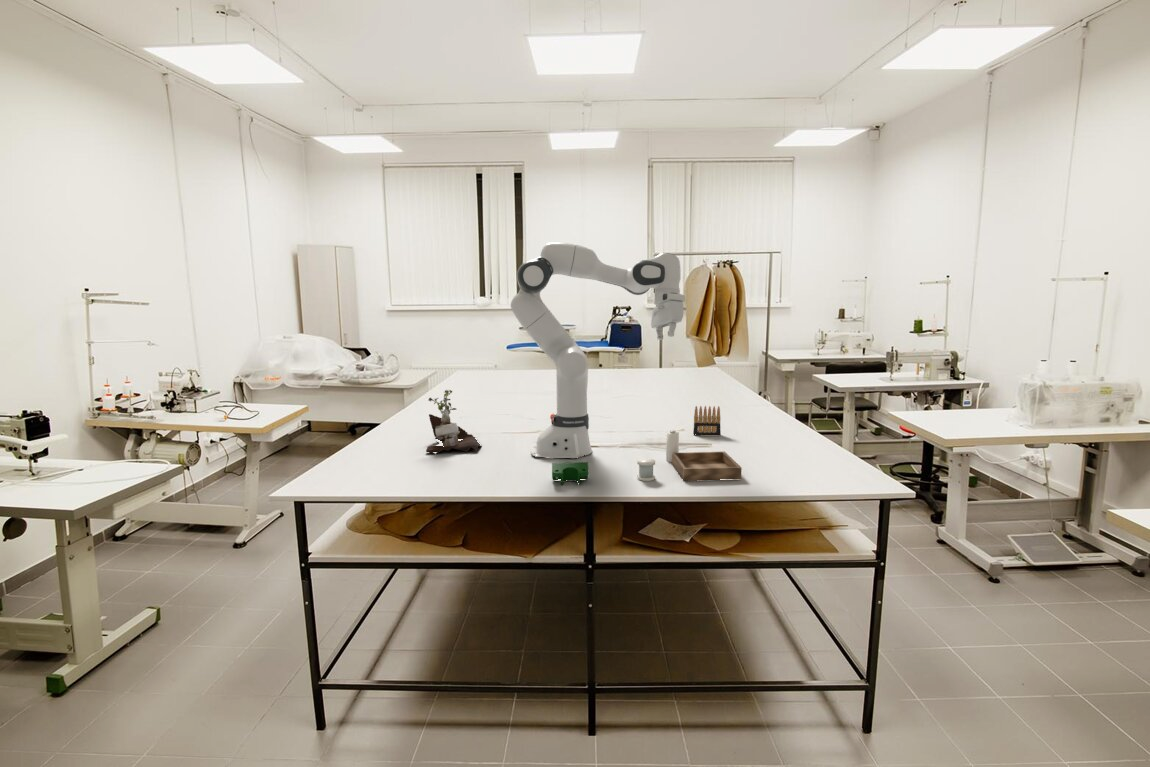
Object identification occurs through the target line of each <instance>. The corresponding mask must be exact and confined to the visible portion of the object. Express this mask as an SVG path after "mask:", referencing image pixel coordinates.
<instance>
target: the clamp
mask: <svg viewBox="0 0 1150 767" xmlns="http://www.w3.org/2000/svg"><path fill="white" fill-rule="evenodd" d="M588 478H589V463H588V462H587V461H585V462H583V461H579V462H552V463H551V479H552V481H553V480H558V479H561V481H560V483H561V484H563V485H564V482H563V481H565V482H567V481H566V480H576V481H578V483H580V479H587V480H588ZM576 481H575V482H576ZM578 483H577V484H578ZM561 484H560V485H561Z"/></svg>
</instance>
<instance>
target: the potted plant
mask: <svg viewBox="0 0 1150 767" xmlns="http://www.w3.org/2000/svg"><path fill="white" fill-rule="evenodd" d="M452 393H453V390H450V389H445V390H444V395H443V400H440V401H439V402H438V401H437V400H438V399H439V397H437V398H432V397H429V398H428V400H427V401H429V402H434V403H433V405H435V404H437V409H438V410H439V411H440V414H441V417H439V416H436V415H434V414H431V413H430V414H428V417H429V421H430V425H431V428H432V432H433V435H434V440H435V439H438V440H440V441H442V443H443V446H444V447H443V446H432V445H429V446H427V447H426V450H425V453H426V452H438V453H440V452H442V451H447V452H449V451H450V450H451V449H455V450H459V451H463V452H468V451H469V450H470V449H471V448H472V449H473V450H475V451H476V452H479V447H480V444H481V443H480V442H479V443H480V444H479V443H478V442H477V440H478V439H477V440H476V439H475V438H476V437H475V436H474V435H473V434H469V433H468V432H467V431H466V430H465V429H463V428H462V427H460V426H459V425H458V423H457V422H451V416H450V414H451V411H454V410H457V408H455V407H453V408H452V403H451V402H450V401H451V398H448V397H449V395H451V394H452ZM448 401H449V402H448ZM443 408H445V409H443ZM458 439H463V440H461V441H458Z"/></svg>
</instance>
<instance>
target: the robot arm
mask: <svg viewBox="0 0 1150 767" xmlns="http://www.w3.org/2000/svg"><path fill="white" fill-rule="evenodd" d="M554 275H562V276H567V277H572V278H578V279H587V280H592V281H598V282H601V283H602V282H603V283H606V284H609V285H614V286H617V287H621V288H622V289H624V290H626V291H627V292H629V293H630V294H632V295H635V296H641V295H644V294H646V293H647V292H648V291H649V290H650V289H651V288H652V289H654V305H655V307H654V308H653V309H652V312H651V313H652V314H651V320H650V323H651V324H650V326H651V328H652V329H655V332H656V339H657V340H658V341H662V340H664V333H663V331H664V328H667V327H668V331H667V337H668V338H669V337H670V338H671V337H672V338H673V337H675V331H676V328H677V323H681V322H682V321H683V316H684V311H685V310H684V309H685V308H684V307H685V306H684V302H685V301H686V295H684V294H682V293H681V288H680V282H681V262H680V259H679V257H678V256H677V255H676V254H673V253H669V252H661V253H659V254H658V255H656V256H654V257H652V258H648V259H642V260H639V261H637V262H636V263H635V264H634V265H633V266H632V268H628V269H627V268H626V269H625V268H620V267H616V266H613V265H612V266H611V265H609V264H605V263H604V262H602V261H601V260H600V258H599V257H598V256H597V254H596V252H595V251H594V250H592V249H590V248H588V247H586V246H582V245H578V244H574V243H568V242H555V241H554V242H551V241H550V242H548V243H545V245H544V246H543V247H542V249H541V251H540V255H539V256H538V257H536V258H533V259H530V260H526V261H525V262H523V263H522V264H520V266H519V268H518V269H517V272H516V282H517V285H518V293H517V294H515V295H514V296H513V298H512V299H511V302H510V308H511V311H512V313H513V314H514V316H515V318H516V319H517V320H518V323H519V324H520V326H522V328H523V329H524V330H525V331H526V333H527V334H528V335H529V336H530V337H531V339H532V340H533V341H534V342H535V344H536V345H537V346H538V347H539V348H540V349H541V351H542V352H543V353H544V354H545V355H546V356H547V357H548V359H550V361H551V362H552V363H553V365H554V366H555V367H556V414H555V413H551V414H550V415H549V416H550V417H549V418H550V420H551V425H549V426H548V427H547V428H546V429H545V430H543V431H542V432H540V434H539V435H538V436H537V441H536V444H535V445H534V446H532V448H531V449H530V455H531V454H532V455H533V456H535V457H553V458H577V457H579V456H581V457H585V456H588V455H590V454H592V452H593V450H592V445H591V442H590V435H589V427H590V418H589V417H590V416H589V413H588V382H589V381H588V378H589V360H588V357H587V355H586V354H585V353H584V351H583V349H582V348H581V347H580V346H579V345H578V344H577V342H576V341H575V340H574V339H573V337H572V336H571V335H570V334H569V332H568V331H567V330H566V328H564V326H563V325H562V324H561V322H560V321H559V320H558V319H557V318H556V316H555V315H554V314H553V313H552V312H551V310H550V309H549V308H548V306H547V305H546V304H545V302H543V299H542V298H541V292H542V291H543V290H544V289H545V288H546V287H547V285H548V283H549V281H550V280H551V277H552V276H554ZM584 455H585V456H584ZM553 458H552V459H553ZM579 458H580V457H579ZM577 459H578V458H577Z"/></svg>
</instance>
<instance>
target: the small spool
mask: <svg viewBox="0 0 1150 767" xmlns="http://www.w3.org/2000/svg"><path fill="white" fill-rule="evenodd" d="M636 464H637V465H638V474H637V476H636V478H638V479H639V480H638V479H637V480H638V481H640V480H643V481H642V482H652V481H651V480H653V481H655V480H656V475H655V474H654V465H656V459H653V458H648V457H647V458H646V457H644V458H639V459H637V461H636ZM654 479H655V480H654Z"/></svg>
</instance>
